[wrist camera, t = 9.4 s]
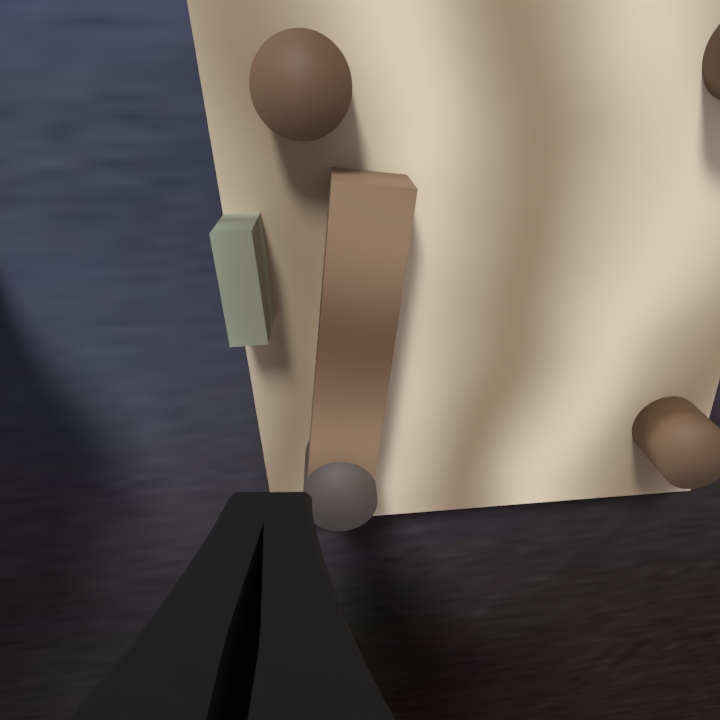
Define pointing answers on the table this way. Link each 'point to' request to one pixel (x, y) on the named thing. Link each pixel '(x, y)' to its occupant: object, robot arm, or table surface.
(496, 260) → the stool seat
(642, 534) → the table surface
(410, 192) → the folding leg
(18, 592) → the table surface
